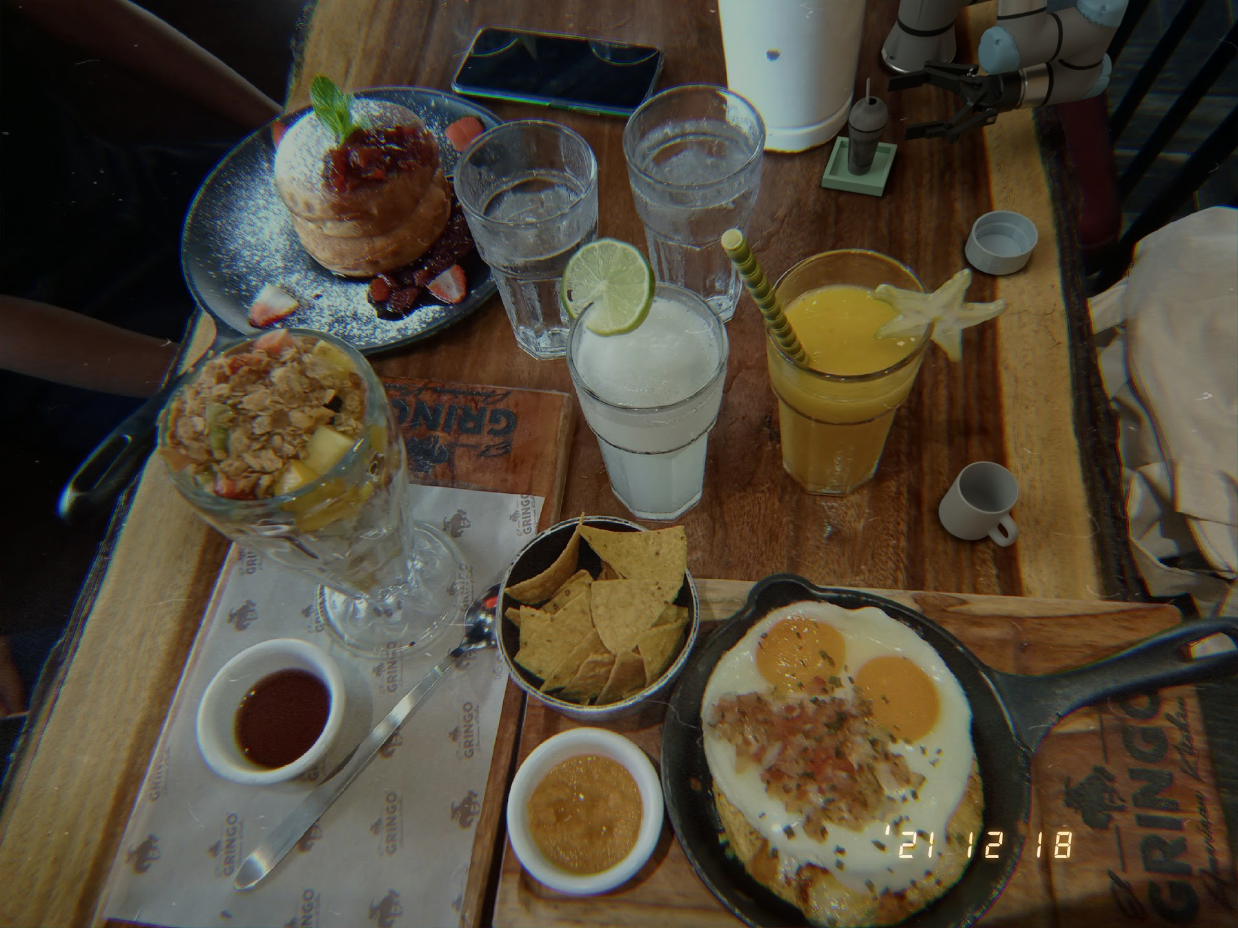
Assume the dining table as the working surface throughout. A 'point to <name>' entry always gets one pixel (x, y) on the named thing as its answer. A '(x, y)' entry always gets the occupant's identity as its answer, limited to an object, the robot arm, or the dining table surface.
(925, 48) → the robot arm
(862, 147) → the beverage cup
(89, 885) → the dining table surface
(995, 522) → the mug
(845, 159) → the tray
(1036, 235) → the bowl
